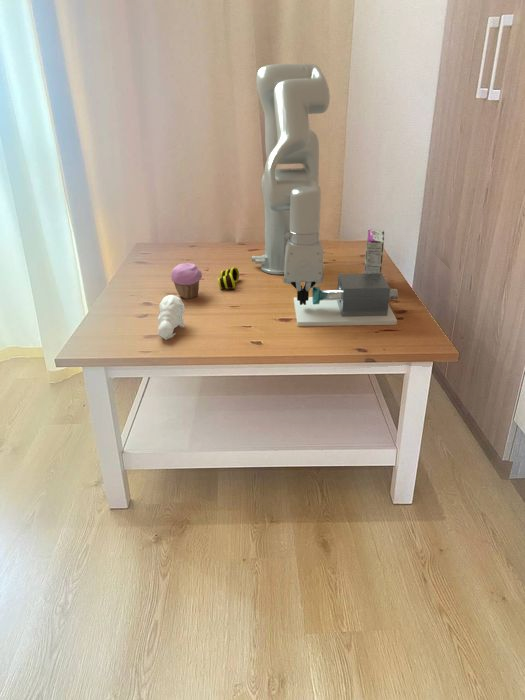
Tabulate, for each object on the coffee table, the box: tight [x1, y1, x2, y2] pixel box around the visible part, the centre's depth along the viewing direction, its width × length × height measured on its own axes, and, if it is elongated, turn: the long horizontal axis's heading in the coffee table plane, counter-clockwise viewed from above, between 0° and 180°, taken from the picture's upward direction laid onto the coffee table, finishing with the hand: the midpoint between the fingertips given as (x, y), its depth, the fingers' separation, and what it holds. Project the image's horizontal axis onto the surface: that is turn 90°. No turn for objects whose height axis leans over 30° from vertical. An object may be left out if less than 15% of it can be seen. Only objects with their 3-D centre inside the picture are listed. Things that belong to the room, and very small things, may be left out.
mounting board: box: [293, 296, 398, 327], centre depth 148 cm, size 26×16×1 cm, turn 91°
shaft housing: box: [337, 272, 391, 317], centre depth 145 cm, size 12×10×8 cm
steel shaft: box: [311, 285, 399, 304], centre depth 145 cm, size 23×5×5 cm, turn 91°
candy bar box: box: [363, 229, 385, 274], centre depth 159 cm, size 11×5×16 cm, turn 168°
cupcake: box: [170, 262, 203, 300], centre depth 157 cm, size 9×9×10 cm
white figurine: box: [157, 294, 185, 341], centre depth 137 cm, size 6×8×12 cm
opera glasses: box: [217, 266, 240, 290], centre depth 165 cm, size 10×5×5 cm, turn 174°
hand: (302, 302), depth 146 cm, fingers closed
